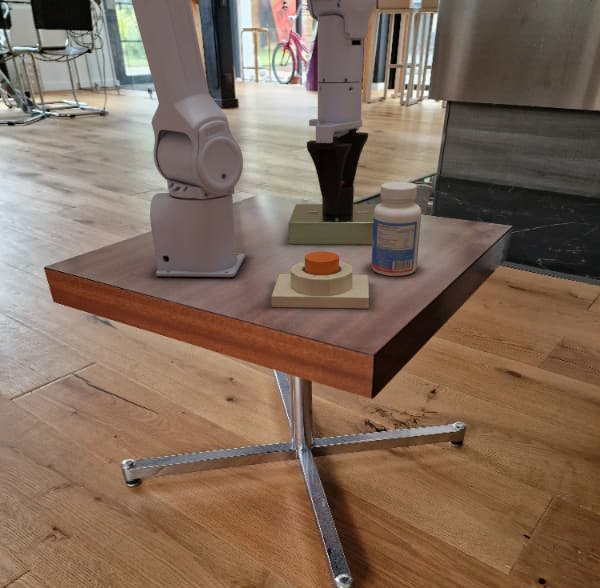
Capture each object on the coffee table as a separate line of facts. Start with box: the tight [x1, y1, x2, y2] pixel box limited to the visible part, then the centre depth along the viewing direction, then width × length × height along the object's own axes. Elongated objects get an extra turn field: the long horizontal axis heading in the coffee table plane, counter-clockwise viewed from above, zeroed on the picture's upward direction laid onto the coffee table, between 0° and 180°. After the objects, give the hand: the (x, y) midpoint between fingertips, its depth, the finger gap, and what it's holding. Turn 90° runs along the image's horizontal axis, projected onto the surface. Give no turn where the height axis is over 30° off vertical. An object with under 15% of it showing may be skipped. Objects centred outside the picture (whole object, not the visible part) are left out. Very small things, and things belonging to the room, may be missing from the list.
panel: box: [288, 203, 379, 246], centre depth 82 cm, size 13×11×3 cm
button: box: [304, 250, 340, 275], centre depth 60 cm, size 4×4×2 cm
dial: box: [321, 181, 355, 216], centre depth 80 cm, size 4×4×4 cm
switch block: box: [271, 260, 370, 309], centre depth 61 cm, size 10×7×3 cm
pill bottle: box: [371, 181, 422, 277], centre depth 66 cm, size 6×5×10 cm
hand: (337, 192), depth 80 cm, fingers open, 7 cm apart
